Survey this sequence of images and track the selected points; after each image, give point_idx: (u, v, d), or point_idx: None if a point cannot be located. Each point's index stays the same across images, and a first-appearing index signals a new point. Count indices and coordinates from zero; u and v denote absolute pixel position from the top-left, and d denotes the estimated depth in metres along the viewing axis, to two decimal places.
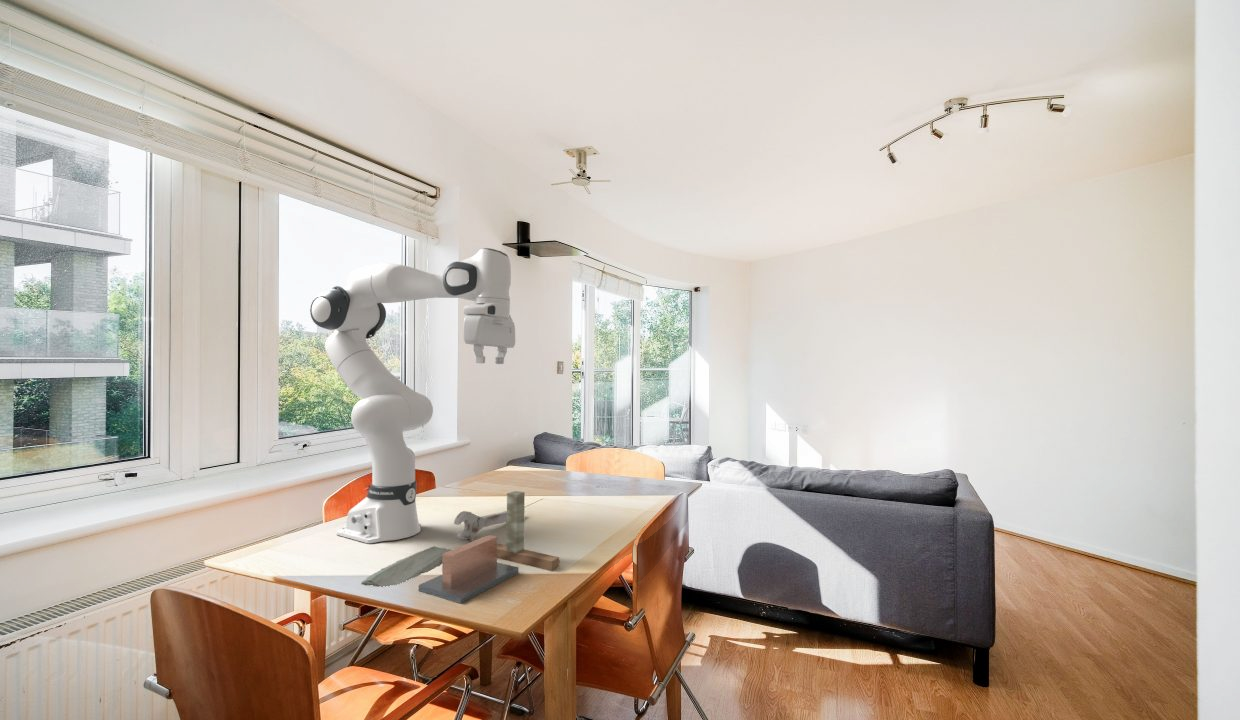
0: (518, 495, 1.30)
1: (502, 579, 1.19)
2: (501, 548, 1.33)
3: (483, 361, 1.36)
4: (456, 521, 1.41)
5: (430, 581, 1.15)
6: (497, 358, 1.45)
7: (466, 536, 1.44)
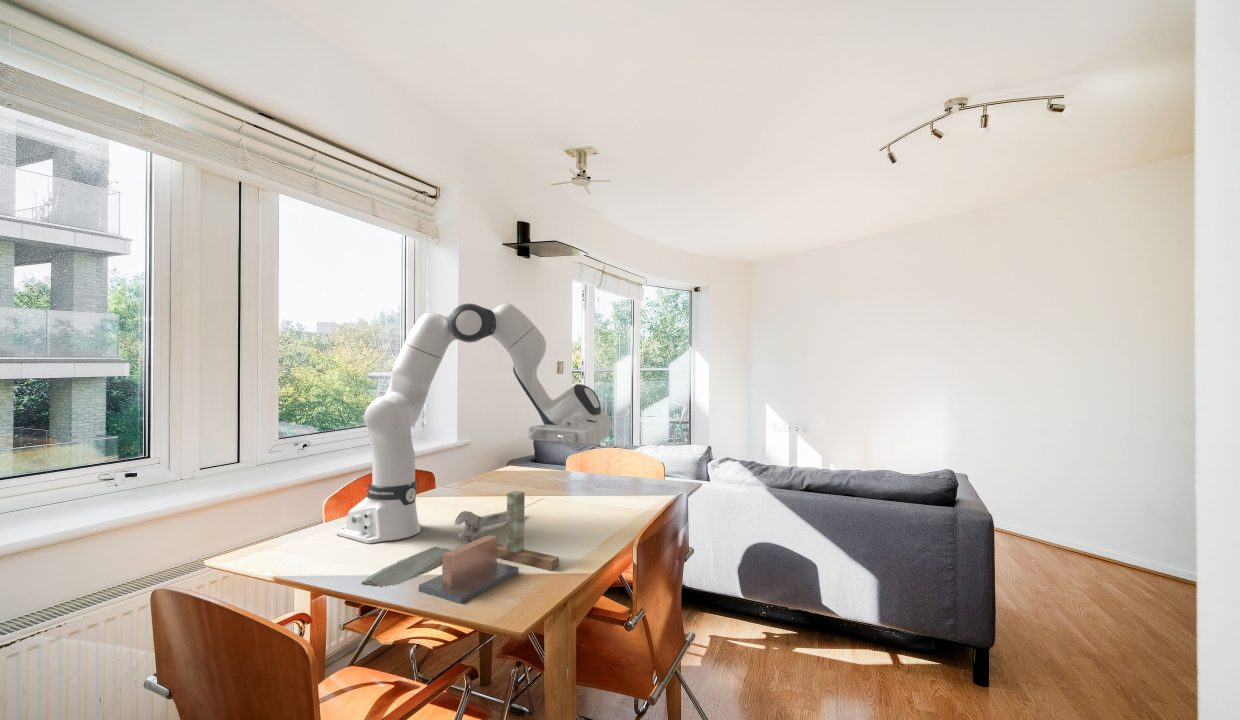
0: (518, 495, 1.30)
1: (502, 579, 1.19)
2: (501, 548, 1.33)
3: None
4: (457, 521, 1.41)
5: (430, 581, 1.15)
6: (537, 434, 1.45)
7: (467, 536, 1.44)
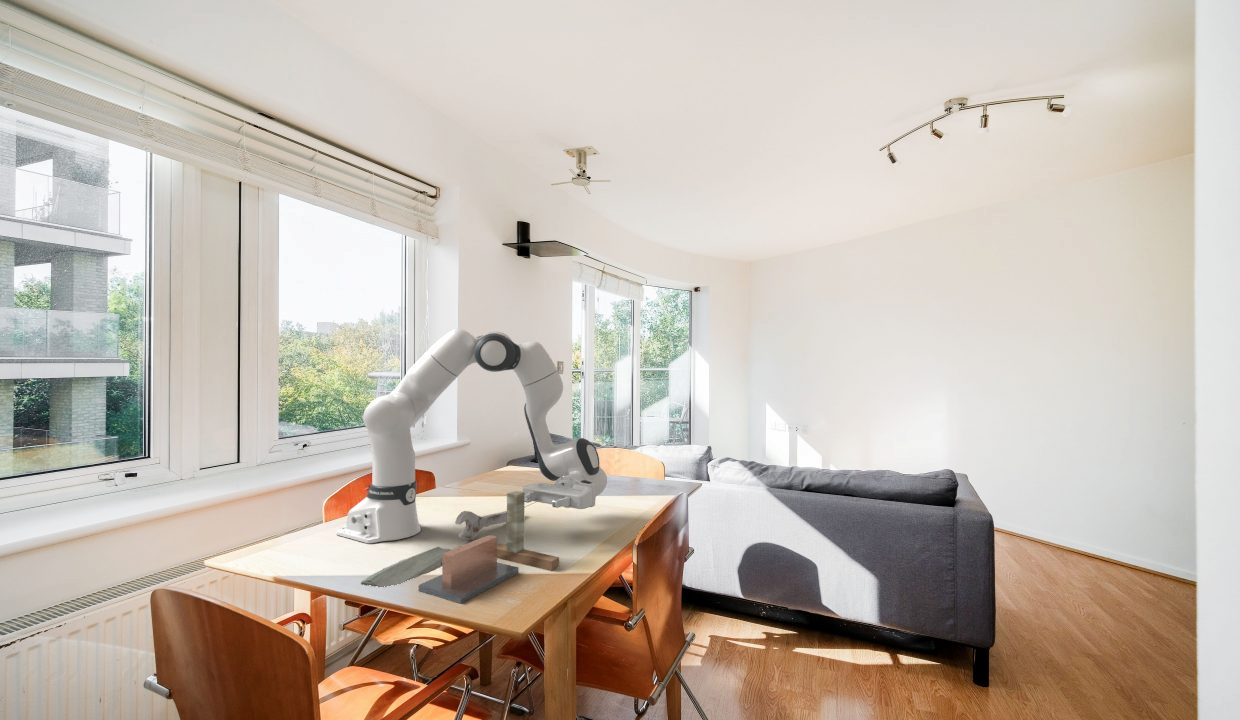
0: (518, 495, 1.30)
1: (502, 579, 1.19)
2: (501, 548, 1.33)
3: (556, 507, 1.38)
4: (457, 521, 1.41)
5: (430, 581, 1.15)
6: (530, 497, 1.43)
7: (467, 536, 1.44)
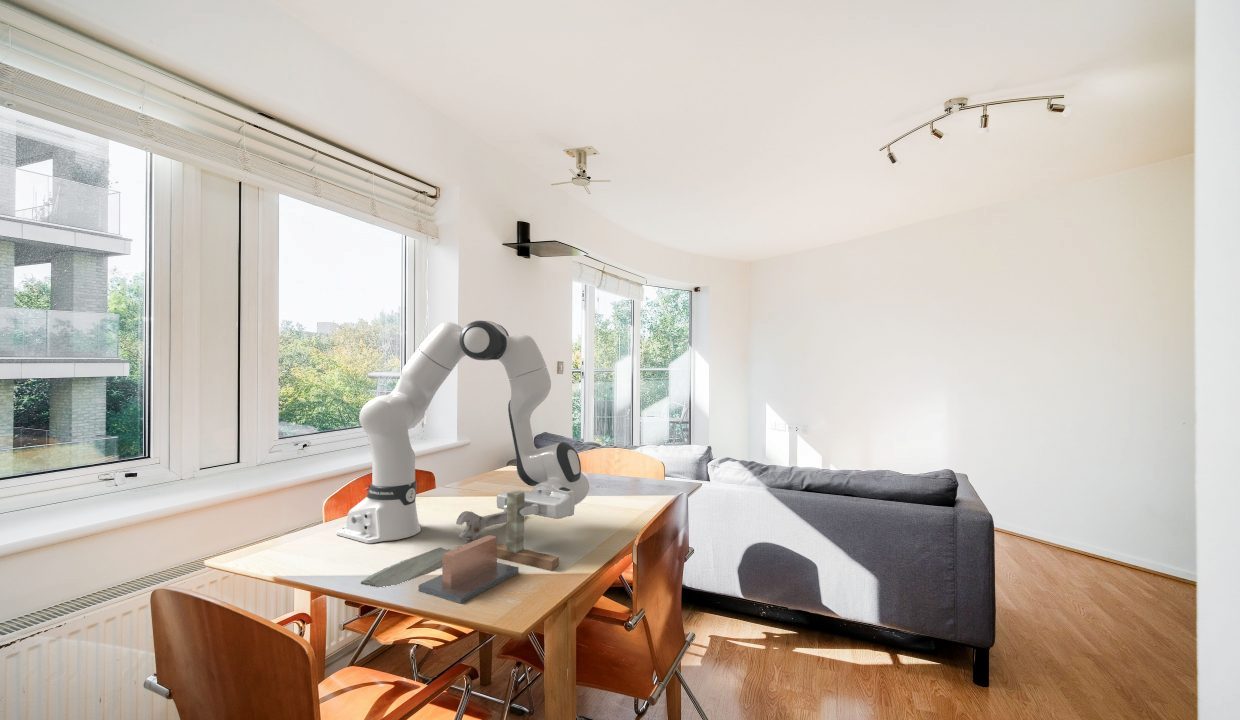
0: (518, 495, 1.30)
1: (502, 579, 1.19)
2: (501, 548, 1.33)
3: None
4: (458, 521, 1.41)
5: (430, 581, 1.15)
6: None
7: (468, 536, 1.44)
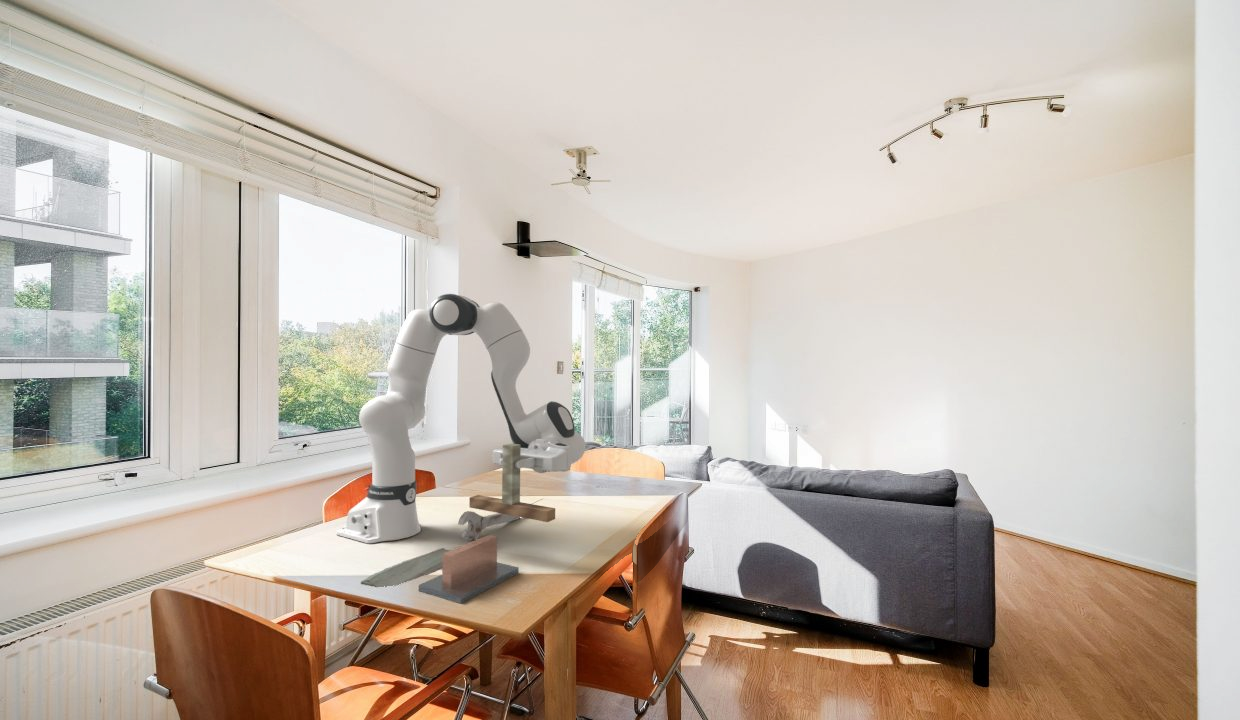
0: (514, 447, 1.29)
1: (502, 579, 1.19)
2: (497, 501, 1.31)
3: None
4: (460, 521, 1.41)
5: (430, 581, 1.15)
6: None
7: (470, 536, 1.44)
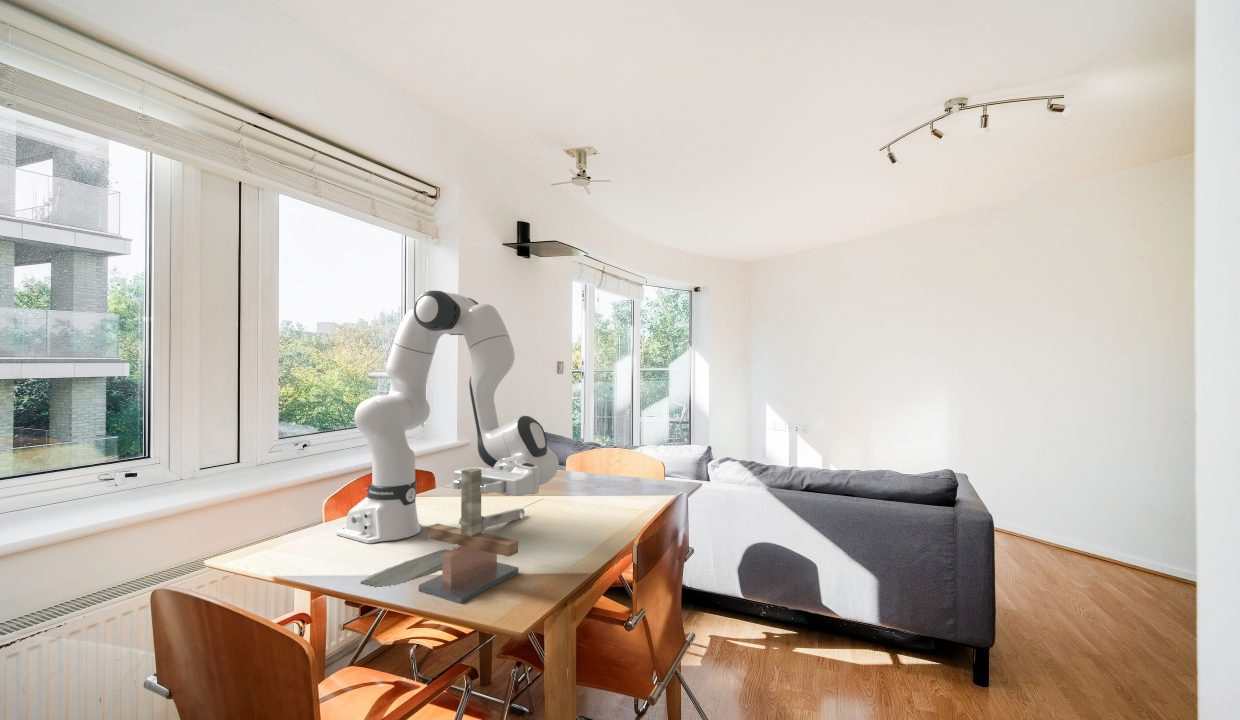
0: (474, 472, 1.17)
1: (502, 579, 1.19)
2: (456, 531, 1.20)
3: (484, 493, 1.16)
4: None
5: (430, 581, 1.15)
6: None
7: None
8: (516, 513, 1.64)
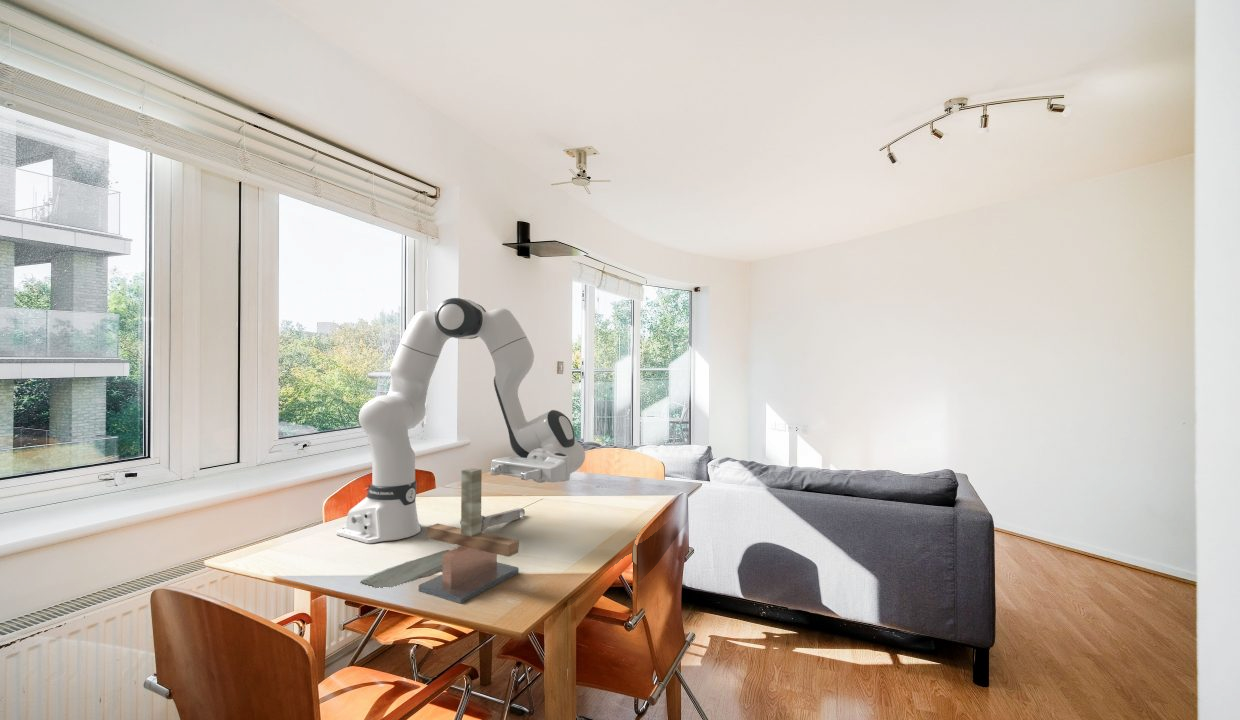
0: (474, 472, 1.17)
1: (502, 579, 1.19)
2: (456, 531, 1.20)
3: None
4: None
5: (430, 581, 1.15)
6: (499, 470, 1.32)
7: None
8: (516, 513, 1.64)
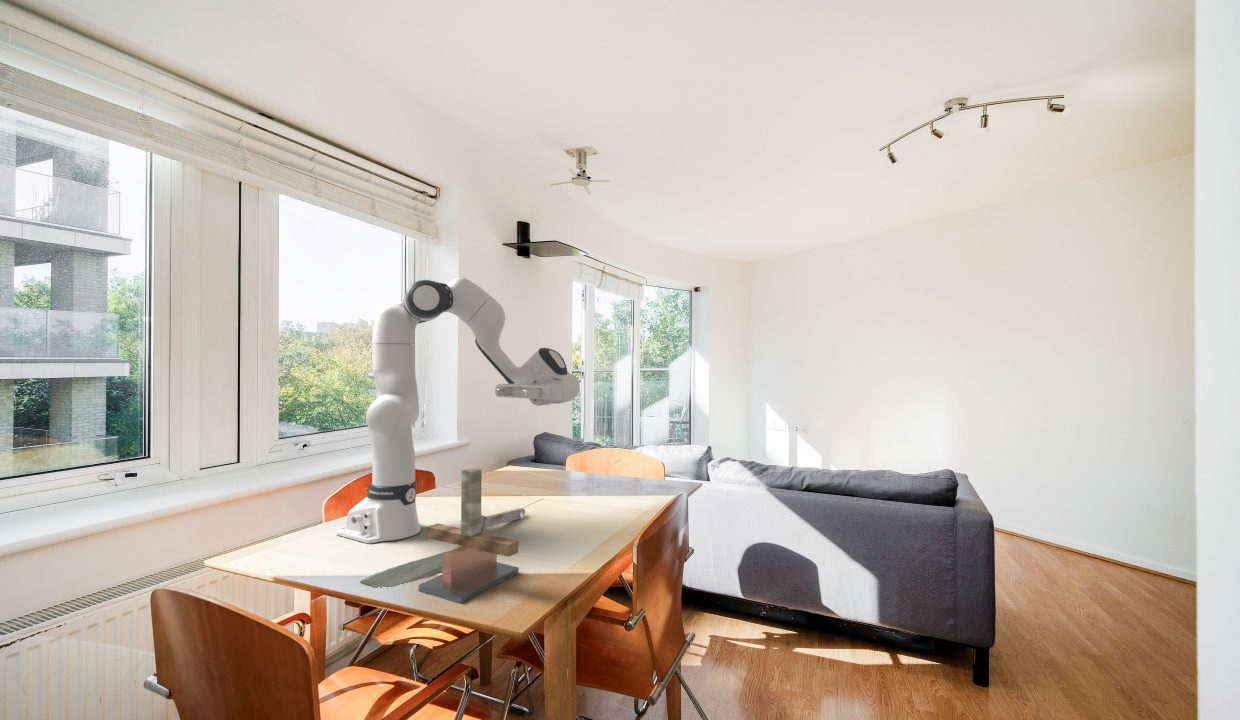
0: (474, 472, 1.17)
1: (502, 579, 1.19)
2: (456, 531, 1.20)
3: (526, 396, 1.43)
4: None
5: (430, 581, 1.15)
6: (502, 390, 1.48)
7: None
8: (517, 513, 1.64)
